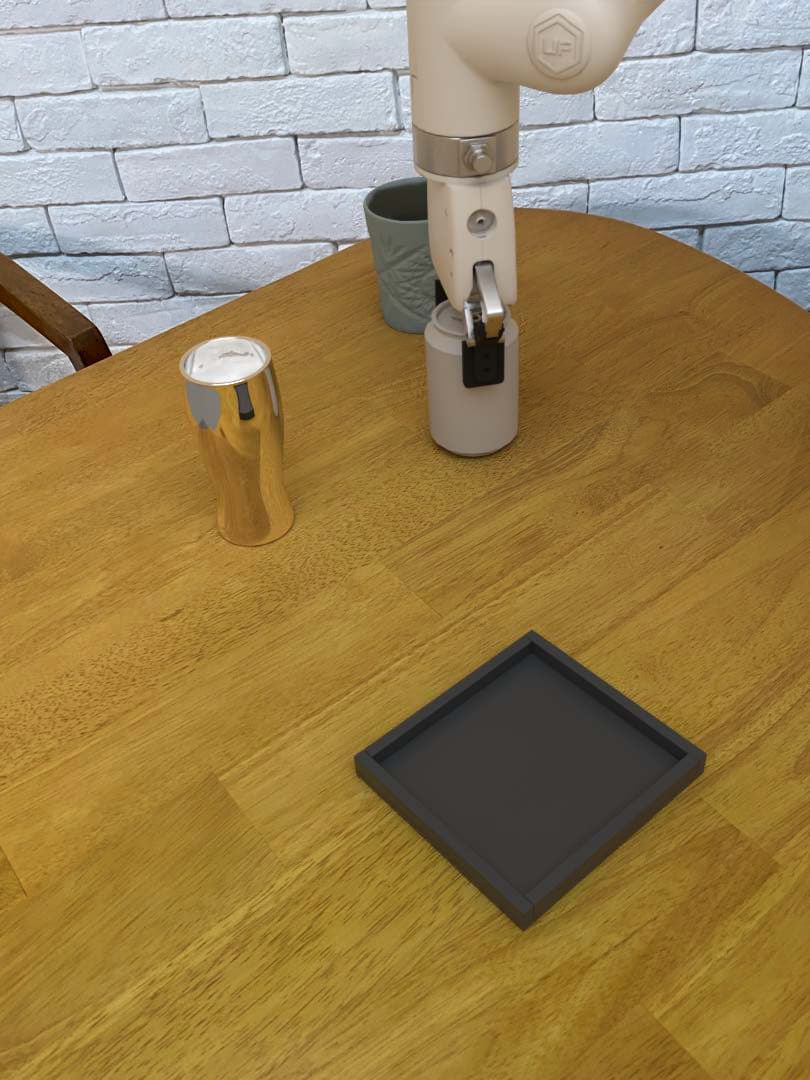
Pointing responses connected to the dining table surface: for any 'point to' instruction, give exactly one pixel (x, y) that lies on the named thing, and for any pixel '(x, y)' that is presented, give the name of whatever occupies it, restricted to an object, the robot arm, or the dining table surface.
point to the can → (468, 413)
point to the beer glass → (239, 435)
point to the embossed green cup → (402, 252)
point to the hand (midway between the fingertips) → (468, 351)
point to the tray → (529, 774)
